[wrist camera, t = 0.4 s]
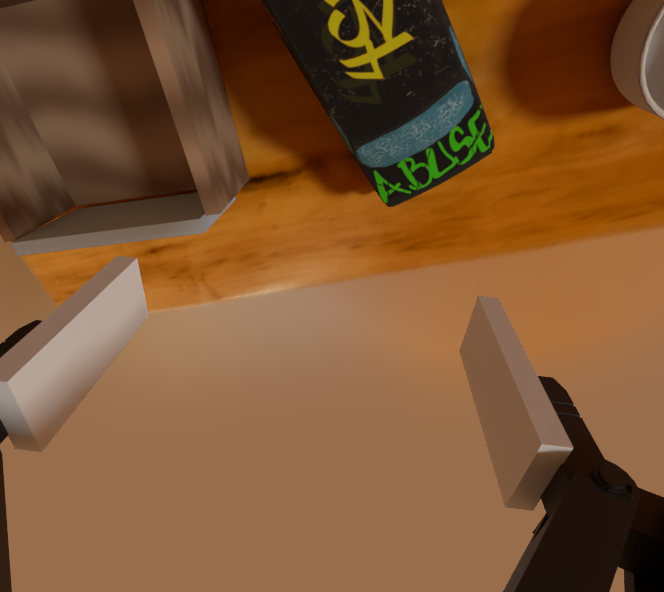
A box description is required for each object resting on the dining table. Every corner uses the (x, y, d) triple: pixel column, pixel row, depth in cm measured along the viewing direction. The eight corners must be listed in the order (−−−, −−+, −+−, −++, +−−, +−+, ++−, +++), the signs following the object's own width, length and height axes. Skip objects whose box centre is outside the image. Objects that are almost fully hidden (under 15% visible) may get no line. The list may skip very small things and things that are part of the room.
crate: (-34, -1, 34) (-158, -13, 26) (187, -53, 31) (125, -84, 23) (71, 204, 43) (4, 241, 35) (249, 179, 40) (220, 213, 32)
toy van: (384, 195, 40) (388, 236, 32) (223, -81, 30) (167, -128, 22) (487, 136, 37) (522, 164, 28) (344, -202, 26) (333, -315, 18)
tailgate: (76, 209, 42) (10, 243, 34) (232, 187, 39) (199, 218, 32) (81, 220, 43) (17, 255, 35) (235, 199, 40) (204, 233, 32)
